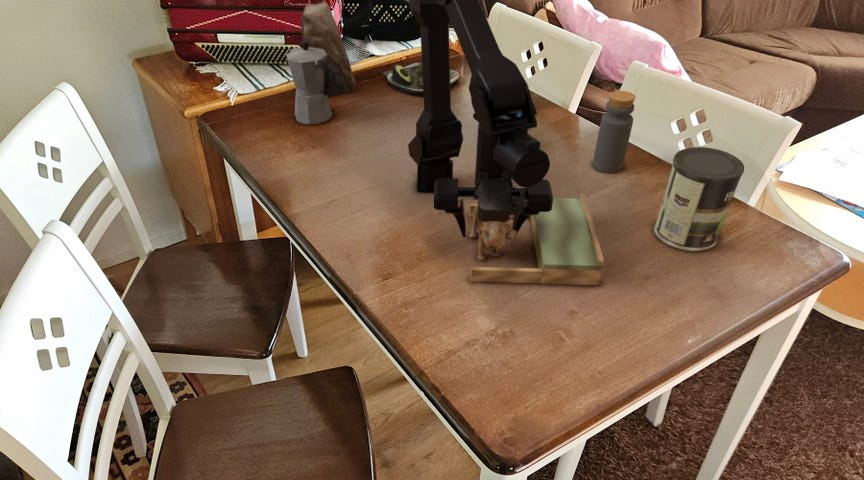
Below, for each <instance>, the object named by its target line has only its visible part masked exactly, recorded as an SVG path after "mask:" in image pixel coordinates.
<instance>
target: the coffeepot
mask: <svg viewBox="0 0 864 480" xmlns="http://www.w3.org/2000/svg"><path fill="white" fill-rule="evenodd" d="M300 43H301V46H302V47H293V48H292V49H291V48H290V49H289V52H288V53H286V54H285V56H286V61H287V63H288V66H289V70H290V74H291V78H292V80H293V84H294V86H295V96H294V97H295V99H294V117H295V119H296V122H298V123H300V124H302V125H309V126H310V125H320V124H323V123H326V122H327V121H329V120H330V119H331V118H332V117H333V112H332V109H331V104H330V101H329V96H327V93H328V85H329V76H330V69H329V66H328V64H327V62H326V60H327V54H326V53H325V51H324V49H318V48H313V47H308V41H303V40H302V41H301V42H300Z"/></svg>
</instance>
